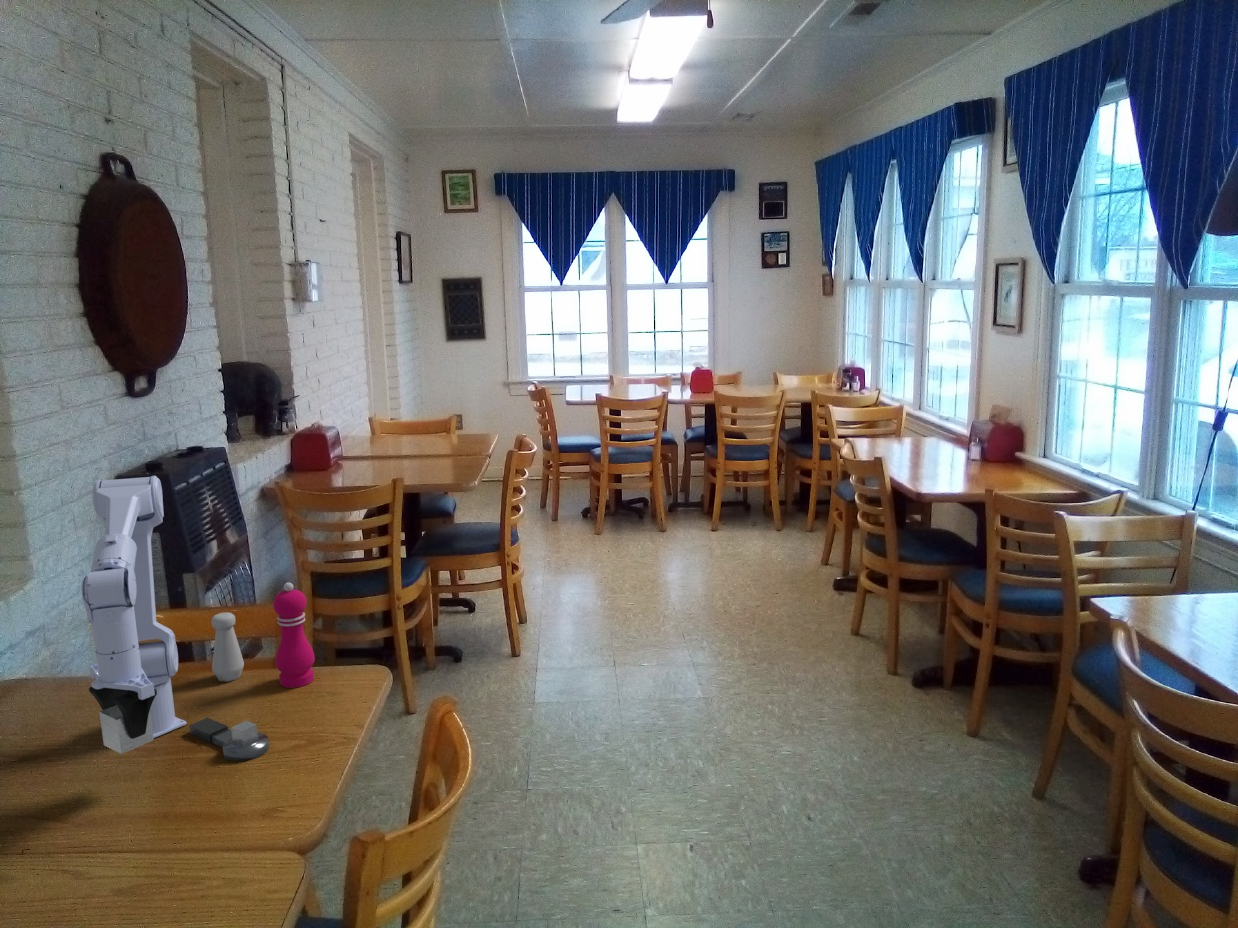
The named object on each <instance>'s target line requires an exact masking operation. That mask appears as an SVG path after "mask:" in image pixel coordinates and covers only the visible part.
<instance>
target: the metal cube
mask: <svg viewBox="0 0 1238 928" xmlns="http://www.w3.org/2000/svg"><path fill="white" fill-rule="evenodd" d="M99 719H100V727H101V735H102V741H103V746H105V747H106V748H109V749H111V750H113V751H114V752H116V753H118V754H120V755H123V754H125V753H127V752H129V751H132V750H134V749H137V748H139V747H141V746H143V745H145V744H148V743H150V742H153V741H154V739H155V738H153V730H152V722H151V714H150V711H149V715H148V721H147V728H146V733H145V734H144V735H141V736H139V737H137V738H134V739H132V738H130V736H129V734H128V732H127V728H126V725H125V721H124V718H123V715H122V713H121V711H120V709H119V708H118V706H117V705H115V706H113V707H110V708H108V709H105V710H100V711H99Z"/></svg>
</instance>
